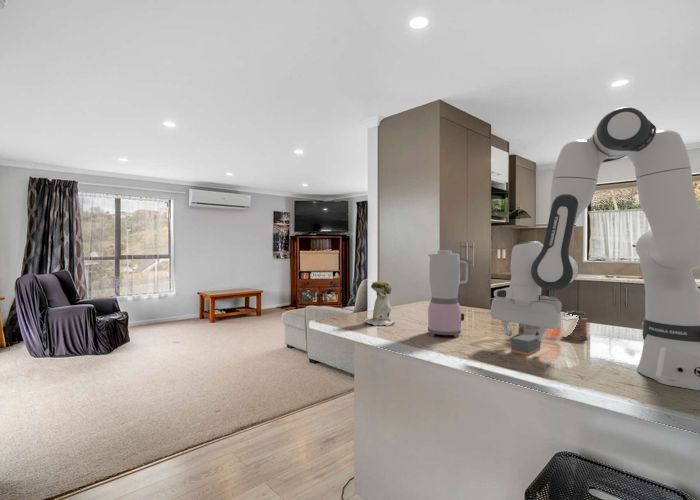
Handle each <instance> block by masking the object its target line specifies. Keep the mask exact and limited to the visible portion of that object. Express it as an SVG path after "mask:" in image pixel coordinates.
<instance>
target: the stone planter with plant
mask: <svg viewBox="0 0 700 500" xmlns="http://www.w3.org/2000/svg"><path fill="white" fill-rule="evenodd" d="M370 288H371V289H372V290H373V291H374V292H375V293H376V299H375V301H374V305H373V311H372V312H373V313H372V317H369V318H366V319H365V322H366V323H367V324H371V325H374V326H382V325H386V326H385V327H389V326H392V324H393V325H395V324H396V320H395V319H393V318H392V319H391V318H390V313H391V312H392V307H391V305H392V304H391V302H390V300H389V296H388V295H390V294H391V293H392V286H391V284H390V283H389V282H387V281H384V280H376V281H373V282H372V283H371V286H370Z"/></svg>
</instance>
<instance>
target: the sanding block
mask: <svg viewBox="0 0 700 500" xmlns="http://www.w3.org/2000/svg"><path fill="white" fill-rule="evenodd" d="M510 340H511V352H516V353H520V354H525V355H530V354H532V353H534V352H536V351H538V350H540V347H541V342H537V341H536V336H534V335H528V334H522V335H517V336H515V337H511V339H510Z"/></svg>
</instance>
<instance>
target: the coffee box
mask: <svg viewBox="0 0 700 500" xmlns="http://www.w3.org/2000/svg"><path fill="white" fill-rule="evenodd" d="M541 332H542V331H540V327H536V326H531V325H525V324H519V323H518V336H520V335H522V334H528V335H534V336H537V335H540V334H541Z"/></svg>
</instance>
